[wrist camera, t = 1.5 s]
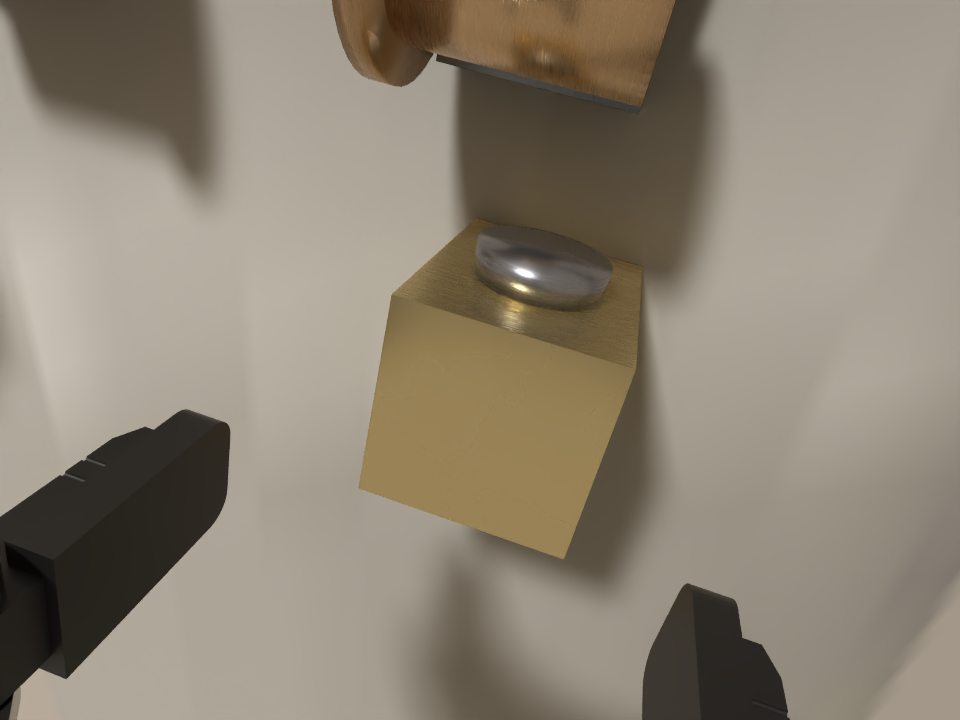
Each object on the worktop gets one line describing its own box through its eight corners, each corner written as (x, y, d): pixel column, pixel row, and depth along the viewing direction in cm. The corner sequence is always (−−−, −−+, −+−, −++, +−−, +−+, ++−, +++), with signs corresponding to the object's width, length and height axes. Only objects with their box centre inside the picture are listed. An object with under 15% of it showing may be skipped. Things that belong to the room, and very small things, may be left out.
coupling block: (482, 191, 19) (397, 256, 13) (651, 239, 18) (650, 332, 12) (438, 385, 22) (354, 513, 16) (583, 431, 21) (554, 584, 15)
